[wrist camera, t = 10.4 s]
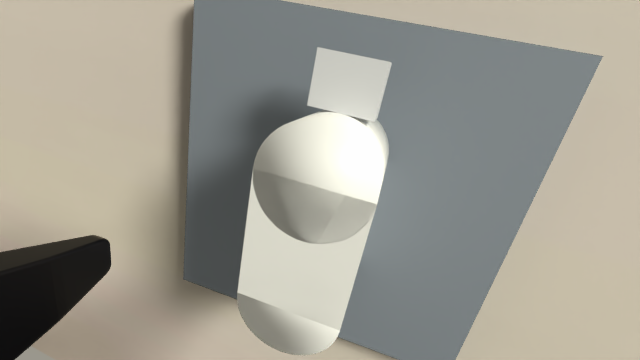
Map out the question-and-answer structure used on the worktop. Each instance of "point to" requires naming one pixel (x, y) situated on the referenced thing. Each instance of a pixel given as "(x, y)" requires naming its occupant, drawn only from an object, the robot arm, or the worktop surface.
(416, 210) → the slate mat
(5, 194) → the worktop surface
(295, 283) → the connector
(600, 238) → the worktop surface
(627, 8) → the worktop surface
